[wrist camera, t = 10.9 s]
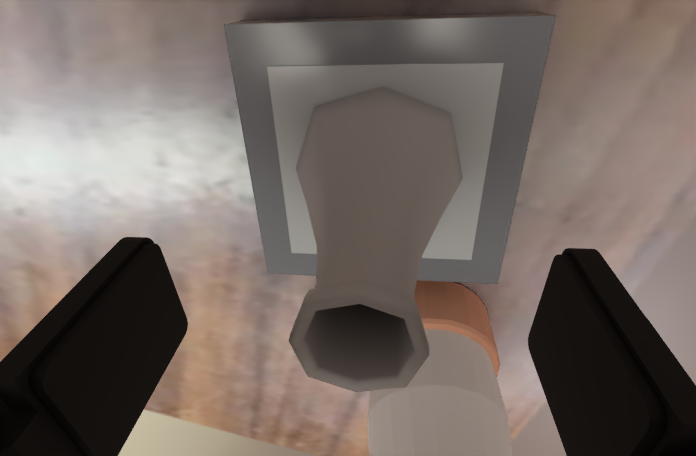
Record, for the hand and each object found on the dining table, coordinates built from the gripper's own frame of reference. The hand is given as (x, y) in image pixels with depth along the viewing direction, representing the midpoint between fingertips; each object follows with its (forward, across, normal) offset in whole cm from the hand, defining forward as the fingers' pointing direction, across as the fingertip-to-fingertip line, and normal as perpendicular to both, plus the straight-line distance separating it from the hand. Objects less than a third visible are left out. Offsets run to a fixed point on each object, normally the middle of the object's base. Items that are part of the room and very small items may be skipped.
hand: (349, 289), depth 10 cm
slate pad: (+11, -1, +1) cm, 11 cm away
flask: (+9, 0, +1) cm, 9 cm away
